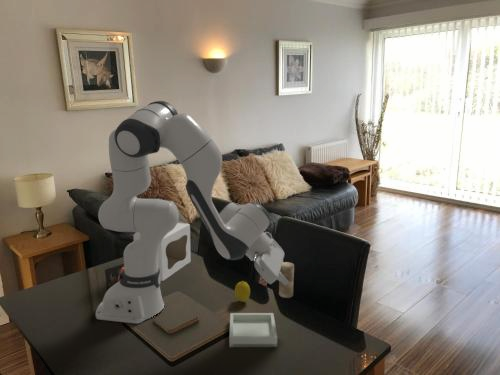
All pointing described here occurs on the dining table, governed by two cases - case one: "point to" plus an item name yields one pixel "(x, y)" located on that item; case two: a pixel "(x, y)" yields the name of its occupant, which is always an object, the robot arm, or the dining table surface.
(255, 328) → the tray
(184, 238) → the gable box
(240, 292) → the lemon
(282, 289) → the dowel
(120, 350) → the dining table surface
